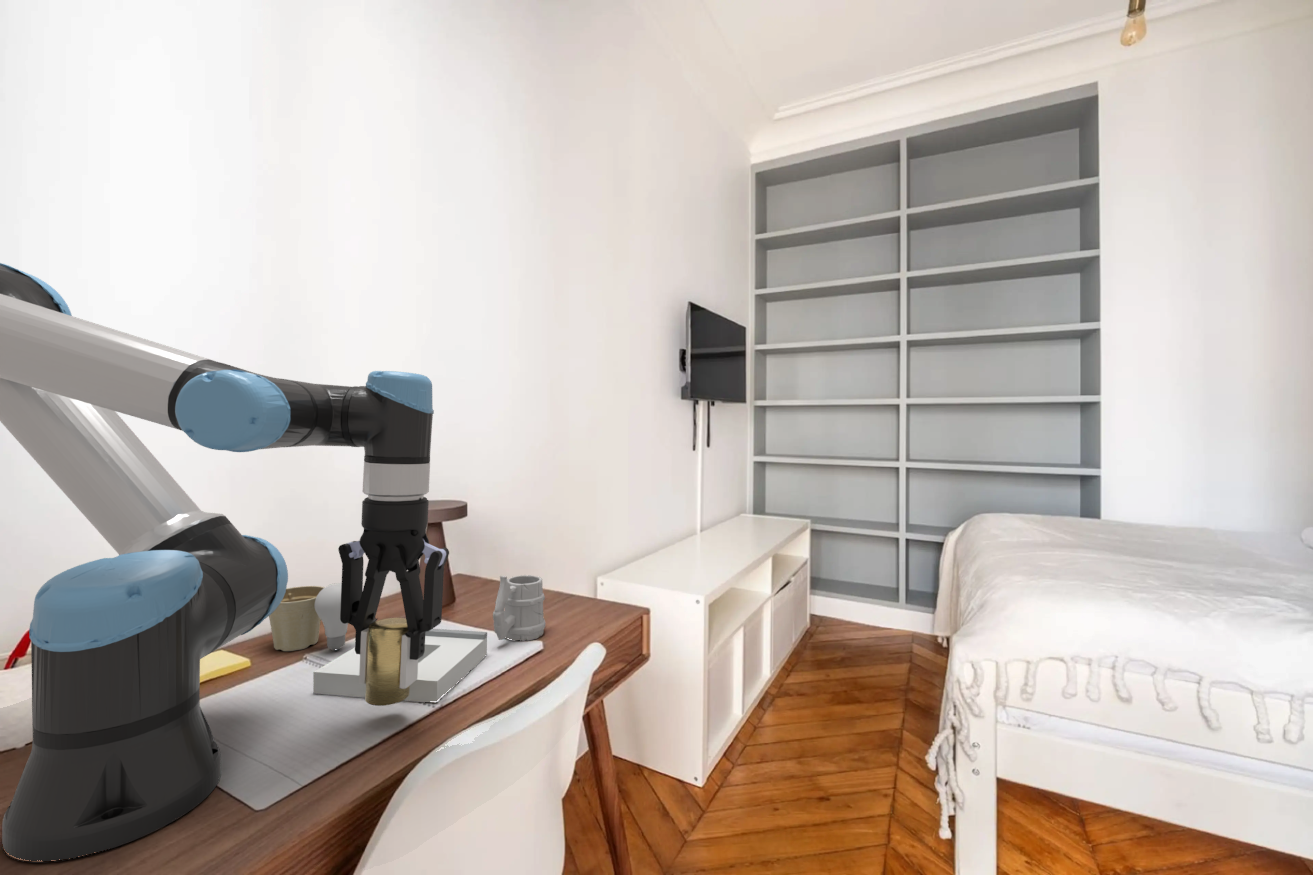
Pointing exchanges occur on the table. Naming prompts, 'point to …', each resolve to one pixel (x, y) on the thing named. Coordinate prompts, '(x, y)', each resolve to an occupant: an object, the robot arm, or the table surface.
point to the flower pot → (296, 619)
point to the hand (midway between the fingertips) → (388, 680)
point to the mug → (519, 608)
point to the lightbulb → (331, 615)
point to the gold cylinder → (385, 662)
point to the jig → (436, 668)
